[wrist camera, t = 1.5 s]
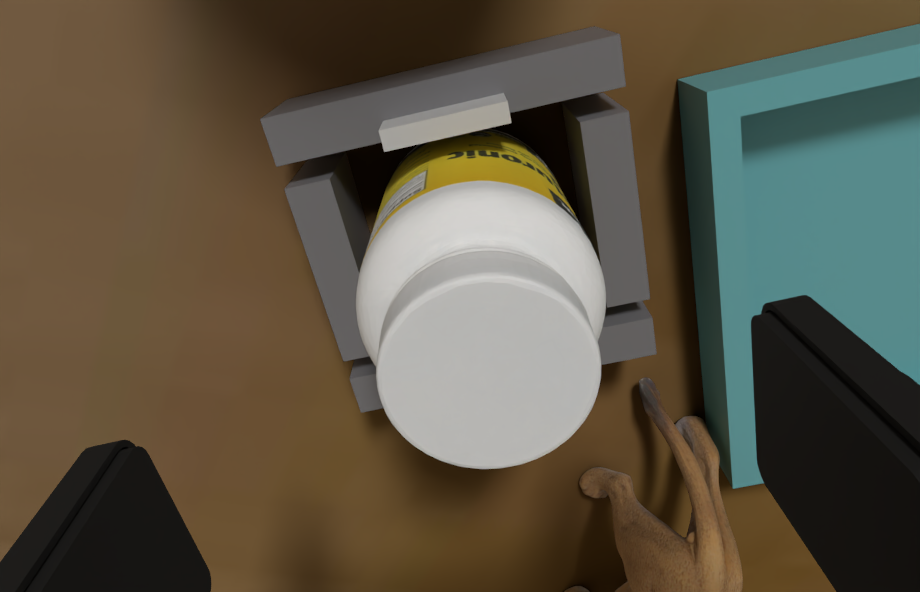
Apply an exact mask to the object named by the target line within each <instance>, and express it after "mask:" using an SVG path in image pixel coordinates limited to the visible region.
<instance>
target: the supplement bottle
mask: <svg viewBox="0 0 920 592" xmlns="http://www.w3.org/2000/svg"><path fill="white" fill-rule="evenodd" d="M605 311H606V289H605V282H604V276H603V273H602V269H601V266H600V263H599V260H598V258H597V255H596V253H595V251H594V248H593V245H592V243H591V241H590V239H589V237H588V236H587V234H586V232H585V230H584V229H583V227H582V226H581V224H580V223H579V221H578V219H577V217H576V215H575V213H574V211H573V210H572V208H571V206H570V204H569V202H568V201H567V199H566V197H565V195H564V194H563V192H562V190H561V188H560V186H559V185H558V183H557V181H556V179H555V177H554V175H553V173H552V172H551V171H550V169H549V168H548V167H547V165H546V164H545V162H544V161H543V160H542V159H541V158H540V156H539V155H538V154H537V153H536V152H535V151H534V150H532V149H531V148H530V147H529V146H528V145H526V144H525V143H524V142H522V141H520V140H519V139H517V138H515V137H513V136H511V135H509V134H507V133H504V132H501V131H498V130H495V129H489V128H488V129H483V130H479V131H475V132H470V133H466V134H461V135H457V136H453V137H448V138H444V139H440V140H435V141H431V142H426V143H422V144H419V145H418V146H416V147H415V148H414V149H413V150H411V151H410V152H409V153H408V154H407V155H406V156H405V158H404V159H403V160H402V161H401V162H400V163H399V165H398V166H397V168H396V169H395V171H394V173H393V175H392V177H391V179H390V181H389V183H388V185H387V187H386V190H385V193H384V196H383V199H382V202H381V205H380V208H379V211H378V214H377V218H376V221H375V224H374V227H373V230H372V234H371V236H370V240H369V243H368V246H367V249H366V253H365V256H364V258H363V262H362V265H361V269H360V273H359V278H358V285H357V292H356V313H357V322H358V327H359V331H360V335H361V338H362V341H363V344H364V346H365V348H366V351H367V353H368V355H369V356H370V358H371V360H372V362H373V363H374V365H375V366H376V381H377V389H378V393H379V396H380V400H381V403H382V406H383V408H384V410H385V412H386V415H387V416H388V418H389V420H390V421H391V423H392V424H393V425H394V427H395V428H396V429H397V431H398V432H399V433H400V434H401V435H402V436H403V437H404V438H405V439H406V440H407V441H409V442H410V443H411V444H412V445H413V446H415V447H416V448H418V449H419V450H421V451H423V452H424V453H426V454H427V455H429V456H431V457H434V458H436V459H438V460H440V461H443V462H446V463H449V464H453V465H456V466H460V467H466V468H476V469H498V468H506V467H511V466H516V465H521V464H524V463H527V462H529V461H532V460H535V459H537V458H539V457H542V456H544V455H546V454H548V453H549V452H551V451H552V450H554V449H556V448H557V447H559V446H560V445H561V444H563V443H564V442H565V441H566V440H568V439H569V438H570V437H571V436H572V435H573V434H574V433H575V432H576V431H577V429H578V428H579V427H580V426H581V424H582V423H583V422H584V421H585V419H586V418H587V416H588V414H589V413H590V411H591V409H592V407H593V405H594V402H595V400H596V397H597V394H598V389H599V386H600V380H601V356H600V350H599V345H598V340H599V337H600V334H601V331H602V327H603V322H604V317H605Z"/></svg>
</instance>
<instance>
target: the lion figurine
mask: <svg viewBox="0 0 920 592" xmlns="http://www.w3.org/2000/svg"><path fill="white" fill-rule="evenodd" d="M639 388H640V389H639V393H640V396H641V400H642V403H643V407H644V409H645V412H646V413H647V414H648V416H649V417H650V418H651V419H652V420H653V421H654V423H655V424H656V426H657V427H658V429H659V430H660V431H661V433H662V435H663V436H664V438H665V439H666V441H667V443H668V445H669V446H670V448H671V450H672V452H673V454H674V456H675V459H676V462H677V464H678V466H679V468H680V471H681V473H682V475H683V478H684V481H685V484H686V487H687V490H688V493H689V497H690V501H691V505H692V513H691V520H690V524H689V528H688V532H687V537H686V538H684V537H682V536H680V535H679V534H678V533H676V532H675V531H674V530H673V529H671V528H670V527H669V526H668V525H666V524H665V523H664V522H662V521H661V520H659V519H658V518H657V517H656V516H655V515H653V514H652V513H650V512H649V511H648V510H647V509H645V508H644V507H643V506H642V505H641V504H640V503H639V502H638V500H637V498H636V497H635V494H634V491H633V484H632V479H631V477H630V476H629V475H627V474H624V473H620V472H616V471H612V470H609V469H606V468H602V467H595V468H591V469H589V470H588V471H586V472H585V473H584V474H583V475H582V477H581V478H580V481H579V485H580V487H581V489H582V491H583V493H584V494H586V495H588V496H590V497H592V498H605V497H606V496H607V495H609V498H610V500H611V504H612V514H613V525H614V534H615V541H616V546H617V550H618V552H619V554H620V556H621V558H622V561H623V564H624V569H625V574H626V577H627V580H628V581H627V582H626V583H624V584H623V585H622V586H621V587H619V588H618V589H617V590H616V591H615V592H742V587H743V575H742V568H741V561H740V557H739V553H738V550H737V544H736V542H735V539H734V536H733V533H732V531H731V528H730V525H729V522H728V518H727V515H726V512H725V508H724V505H723V501H722V497H721V493H720V488H719V463H720V457H719V452H718V450H717V447H716V446H715V444H714V442H713V441H712V439H711V437H710V434H709V432H708V429H707V427H706V424H705V422H704V420H703V419H702V418H700V417H697V416H686V417H683V418H681V419H680V420H678V422H677V423H676V424H674V423H673V422H672V420H671V419H670V417H669V416H668V415H667V413H666V411H665V409H664V407H663V405H662V403H661V400H660V393H659V391H658V390H657V389H656V387H655V384H654V383H653V381H652V380H651V379H649V378H642V379H640V380H639ZM691 450H692V451H691ZM564 592H590V591H589V590H588V589H586V588H584V587H582V586H574V587H571V588H569V589H567V590H565V591H564Z"/></svg>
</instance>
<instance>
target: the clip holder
mask: <svg viewBox="0 0 920 592" xmlns="http://www.w3.org/2000/svg"><path fill="white" fill-rule="evenodd" d="M625 86H626V83H625V74H624V66H623V57H622V48H621V39H620V34H618V33H614V32H611V31H608V30H605V29H602V28H598V27H595V26H594V27H590V28H585V29H581V30H577V31H573V32H569V33H564V34H560V35H556V36H552V37H548V38H543V39H539V40H535V41H531V42H527V43H522V44H518V45H514V46H510V47H506V48H501V49H497V50H493V51H489V52H484V53H480V54H476V55H472V56H468V57H463V58H459V59H455V60H451V61H447V62H442V63H438V64H434V65H430V66H426V67H421V68H417V69H413V70H409V71H405V72H400V73H396V74H392V75H388V76H383V77H379V78H375V79H371V80H367V81H362V82H358V83H354V84H350V85H346V86H341V87H337V88H333V89H329V90H325V91H320V92H316V93H312V94H308V95H304V96H299V97H295V98H291V99H287V100H285V101H284V102H283V103H281V104H280V105H279V106H277V107H276V108H275V109H273V110H272V111H271V112H269V113H268V114H266V115H265V116H264V117H262V118H261V119H260V120H261V123H262V126H263V129H264V132H265V135H266V138H267V141H268V144H269V147H270V149H271V152H272V155H273V158H274V161H275V164H276V167H277V166H282V165H286V164H290V163H295V162H299V161H303V160H308V159H312V158H316V157H321V156H325V155H329V154H334V153H338V152H343V151H347V150H351V149H356V148H360V147H364V146H369V145H373V144H377V143H382V146H383V149H384V152H387V151H391V150H396V149H400V148H405V147H409V146H413V145H418V144H422V143H426V142H431V141H435V140H440V139H444V138H448V137H453V136H457V135H461V134H466V133H470V132H475V131H479V130H483V129H488V128H492V127H496V126H501V125H505V124H510V123H512V122H511V117H510V113H512V112H517V111H521V110H525V109H530V108H534V107H538V106H543V105H547V104H551V103H556V102H560V101H564V100H569V99H573V98H578V97H582V96H586V95H591V94H595V93H599V92H604V91H608V90H612V89H617V88H621V87H625ZM562 109H563V115H564V122H565V128H566V135H567V141H568V147H569V154H570V160H571V167H572V173H573V180H574V186H575V193H576V199H577V205H578V212H579V218H580V224H581V226H582V227H583V229H584V230H585V232H586V234H587V236H588V237H589V239H590V241H591V243H592V245H593V248H594V251H595V253H596V255H597V258H598V260H599V263H600V266H601V269H602V273H603V276H604V282H605V289H606V311H605V317H604V322H603V327H602V331H601V334H600V337H599V340H598V345H599V350H600V356H601V365H604V364H609V363H614V362H619V361H624V360H629V359H634V358H639V357H644V356H650V355H655V354H656V345H655V336H654V327H653V319H652V316H651V315H650V313H649V311H648V310H647V308H646V306H645V305H644V303H643V300H647V299H650V293H649V284H648V275H647V266H646V258H645V249H644V240H643V231H642V223H641V214H640V205H639V196H638V188H637V179H636V170H635V162H634V153H633V144H632V135H631V127H630V118H629V111H628V110H626V109H625V108H624V107H622V106H621V105H619V104H618V103H617V102H615V101H614V100H613V99H611V98H610V97H608V96H607V95H606V94H604V93H600V94H595V95H591V96H587V97H582V98H578V99H574V100H569V101H565V102H562ZM284 190H285V193H286V196H287V199H288V202H289V205H290V208H291V210H292V213H293V216H294V219H295V222H296V225H297V228H298V231H299V234H300V237H301V239H302V242H303V245H304V248H305V251H306V254H307V257H308V260H309V263H310V266H311V268H312V271H313V274H314V277H315V280H316V283H317V286H318V289H319V292H320V295H321V298H322V300H323V303H324V306H325V309H326V312H327V315H328V318H329V321H330V324H331V327H332V329H333V332H334V335H335V338H336V341H337V344H338V347H339V350H340V353H341V356H342V358H343V361H349V360H354V363H353V367H352V371H351V375H350V382H351V385H352V387H353V390H354V393H355V396H356V399H357V402H358V405H359V408H360V411H361V412H367V411H372V410H377V409H382V408H383V406H382V403H381V400H380V396H379V393H378V389H377V381H376V366H375V365H374V363H373V362H372V360H371V358H370V356H369V355H368V353H367V351H366V348H365V346H364V344H363V341H362V338H361V335H360V331H359V327H358V322H357V313H356V292H357V285H358V278H359V273H360V269H361V265H362V262H363V258H364V256H365V253H366V249H367V246H368V243H369V240H370V236H371V235H370V231H369V228H368V225H367V221H366V218H365V215H364V211H363V208H362V204H361V201H360V198H359V194H358V191H357V188H356V184H355V181H354V177H353V174H352V171H351V167H350V164H349V161H348V157H347V154H346V152H343V153H339V154H334V155H330V156H326V157H321V158H317V159H312V160H308V161H306V162H305V164H304V165H303V166H302V167H301V169H300V170H299V171H298V173H297V174H296V175H295V176H294V178H293V179H292V180H291V181H290V183H289V184H288V185H287V187H286V188H285V189H284Z"/></svg>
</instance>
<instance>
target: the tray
mask: <svg viewBox="0 0 920 592" xmlns="http://www.w3.org/2000/svg"><path fill="white" fill-rule="evenodd" d="M677 81H678V93H679V105H680V117H681V129H682V141H683V153H684V165H685V177H686V189H687V201H688V214H689V226H690V238H691V250H692V262H693V274H694V286H695V298H696V310H697V322H698V334H699V346H700V359H701V371H702V383H703V395H704V407H705V419H706V427H707V429H708V432H709V434H710V437H711V439H712V441H713V442H714V444H715V446H716V447H717V450H718V452H719V457H720V463H719V465H720V467H721V469H722V470H723V472H724V474H725V476H726V477H727V479H728V481H729V483H730V485H731V486H732V488H733V489H734V488H740V487H745V486H751V485H756V484H762V483H764V482H763V479H762V477H761V475H760V472H759V468H758V464H757V453H756V431H755V408H754V386H753V364H752V342H751V320H752V317H753V316H754V315H759V314H761V311H762V308H763V305H764V304H765V303H768V302H773V301H778V300H782V299H787V298H792V297H796V296H801V295H807V296H809V297H811V298H812V299H813V300H815V301H816V302H817V303H818V304H819V305H821V306H822V307H823V308H824V309H826V310H827V311H828V312H829V313H830V314H832V315H833V316H834V317H835V318H836V319H838V320H839V321H840V322H841V323H843V324H844V325H845V326H846V327H847V328H849V329H850V330H851V331H852V332H853V333H855V334H856V335H857V336H858V337H859V338H861V339H862V340H863V341H864V342H866V343H867V344H868V345H869V346H870V347H872V348H873V349H874V350H875V351H876V352H878V353H879V354H880V355H881V356H883V357H884V358H885V359H886V360H887V361H889V362H890V363H891V364H892V365H893V366H895V367H896V368H897V369H898V370H900V371H901V372H903V373H904V374H906V375H908V376H909V377H911V378H912V379H913V380H914V381H915V382H917V383H918V384H919V385H920V24H917V25H912V26H908V27H904V28H899V29H895V30H891V31H886V32H882V33H877V34H873V35H869V36H864V37H860V38H856V39H851V40H847V41H843V42H838V43H834V44H829V45H825V46H821V47H816V48H812V49H808V50H803V51H799V52H795V53H790V54H786V55H781V56H777V57H773V58H768V59H764V60H760V61H755V62H751V63H747V64H742V65H738V66H733V67H729V68H725V69H720V70H716V71H712V72H707V73H703V74H699V75H694V76H690V77H686V78H681V79H677Z"/></svg>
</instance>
